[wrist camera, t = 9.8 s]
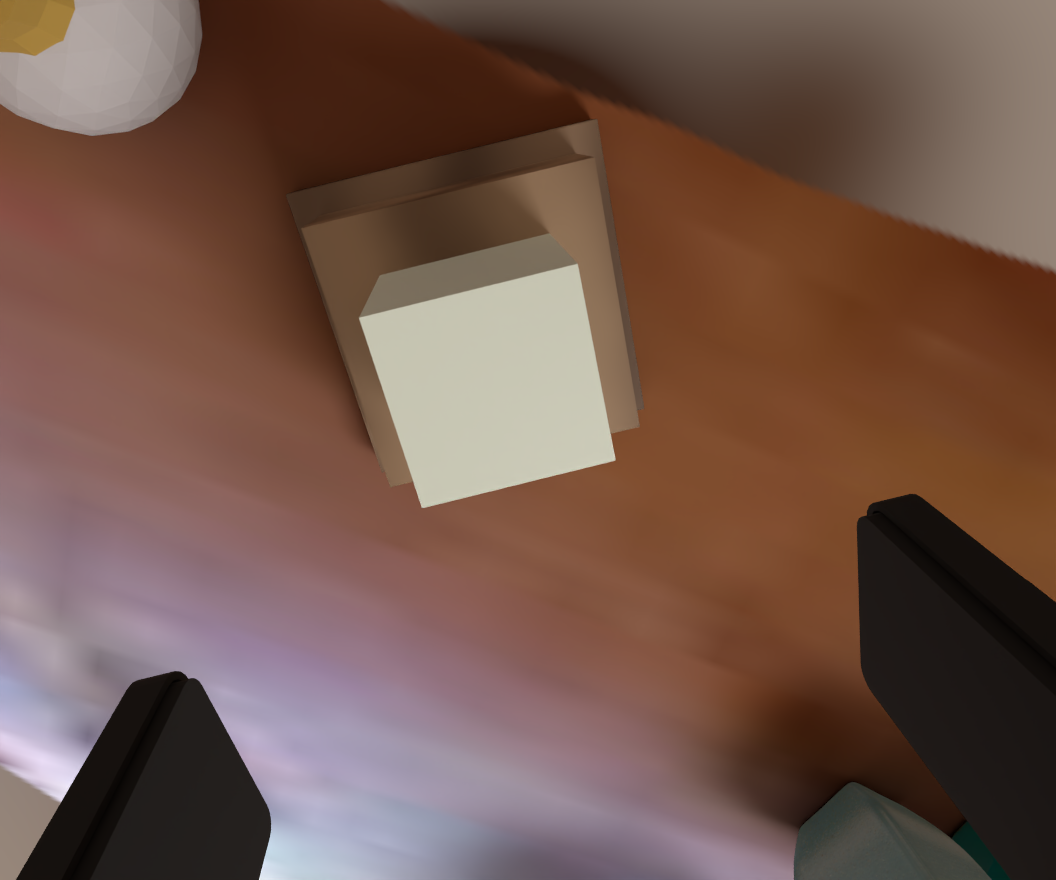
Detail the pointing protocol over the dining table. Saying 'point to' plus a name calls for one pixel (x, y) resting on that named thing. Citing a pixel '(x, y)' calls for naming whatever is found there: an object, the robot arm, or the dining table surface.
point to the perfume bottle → (96, 60)
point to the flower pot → (877, 843)
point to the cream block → (489, 369)
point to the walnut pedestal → (470, 249)
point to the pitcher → (979, 852)
